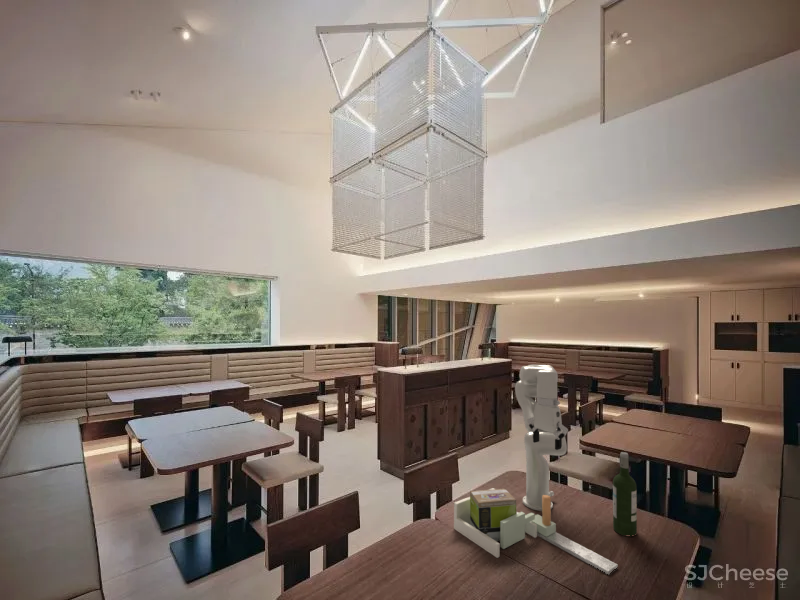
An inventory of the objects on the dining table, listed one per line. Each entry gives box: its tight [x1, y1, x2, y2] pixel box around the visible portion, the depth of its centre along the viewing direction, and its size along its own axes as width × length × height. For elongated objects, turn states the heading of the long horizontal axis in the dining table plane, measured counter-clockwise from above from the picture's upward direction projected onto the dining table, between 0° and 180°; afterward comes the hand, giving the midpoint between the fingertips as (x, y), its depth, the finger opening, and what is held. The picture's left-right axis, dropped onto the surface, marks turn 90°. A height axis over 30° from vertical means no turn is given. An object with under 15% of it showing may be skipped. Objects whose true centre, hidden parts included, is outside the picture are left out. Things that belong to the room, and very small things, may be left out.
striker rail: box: [516, 511, 619, 576], centre depth 141 cm, size 6×40×1 cm, turn 35°
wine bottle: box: [612, 451, 638, 536], centre depth 149 cm, size 8×8×30 cm
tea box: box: [469, 488, 517, 542], centre depth 146 cm, size 15×10×15 cm
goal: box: [453, 487, 538, 559], centre depth 146 cm, size 22×22×10 cm
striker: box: [499, 495, 557, 550], centre depth 142 cm, size 24×8×14 cm, turn 125°
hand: (546, 445), depth 150 cm, fingers open, 9 cm apart
